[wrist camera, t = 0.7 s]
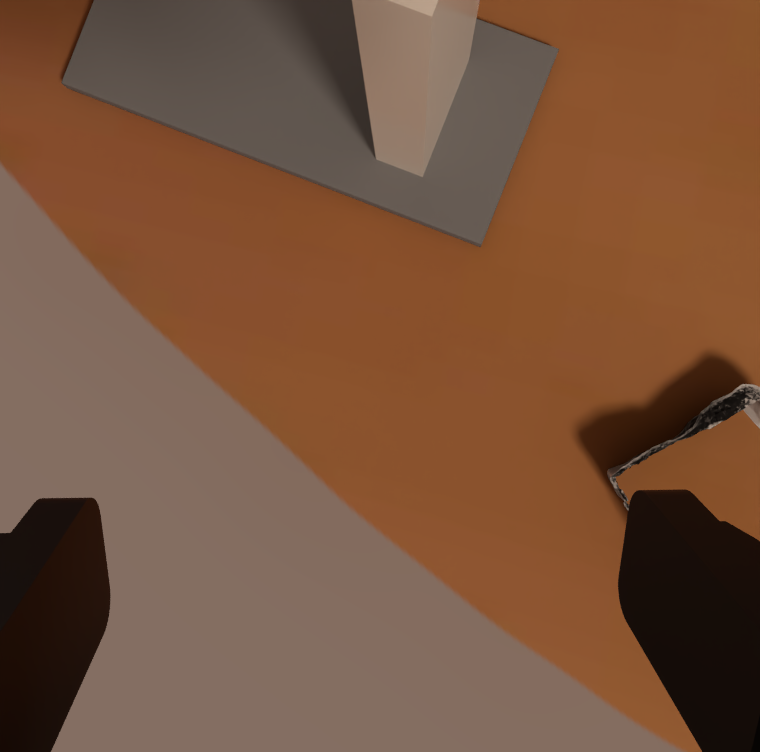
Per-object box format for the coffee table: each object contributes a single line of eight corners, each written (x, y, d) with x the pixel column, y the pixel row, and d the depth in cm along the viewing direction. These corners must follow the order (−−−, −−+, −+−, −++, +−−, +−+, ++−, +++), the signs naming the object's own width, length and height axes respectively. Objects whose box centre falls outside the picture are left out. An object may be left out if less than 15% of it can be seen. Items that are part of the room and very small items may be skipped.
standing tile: (421, 42, 35) (430, -220, 20) (468, 60, 34) (513, -190, 20) (375, 159, 35) (349, -15, 20) (422, 177, 35) (432, 16, 20)
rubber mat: (141, -100, 36) (136, -108, 35) (556, 54, 35) (558, 48, 34) (67, 87, 36) (61, 82, 35) (480, 246, 35) (481, 244, 34)
